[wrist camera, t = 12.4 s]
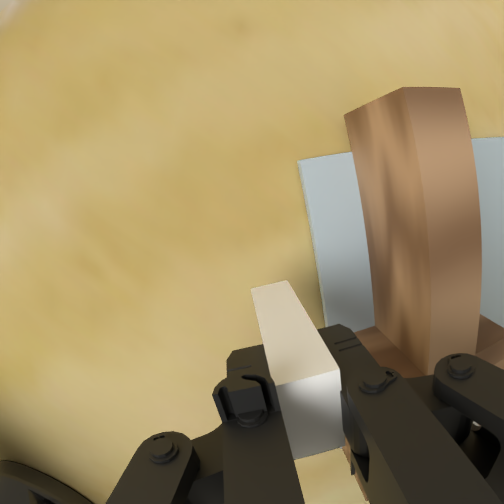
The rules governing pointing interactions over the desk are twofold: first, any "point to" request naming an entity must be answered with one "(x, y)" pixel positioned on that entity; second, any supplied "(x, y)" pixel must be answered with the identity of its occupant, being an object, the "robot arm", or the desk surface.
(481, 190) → the board
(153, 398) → the desk surface
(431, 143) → the link
